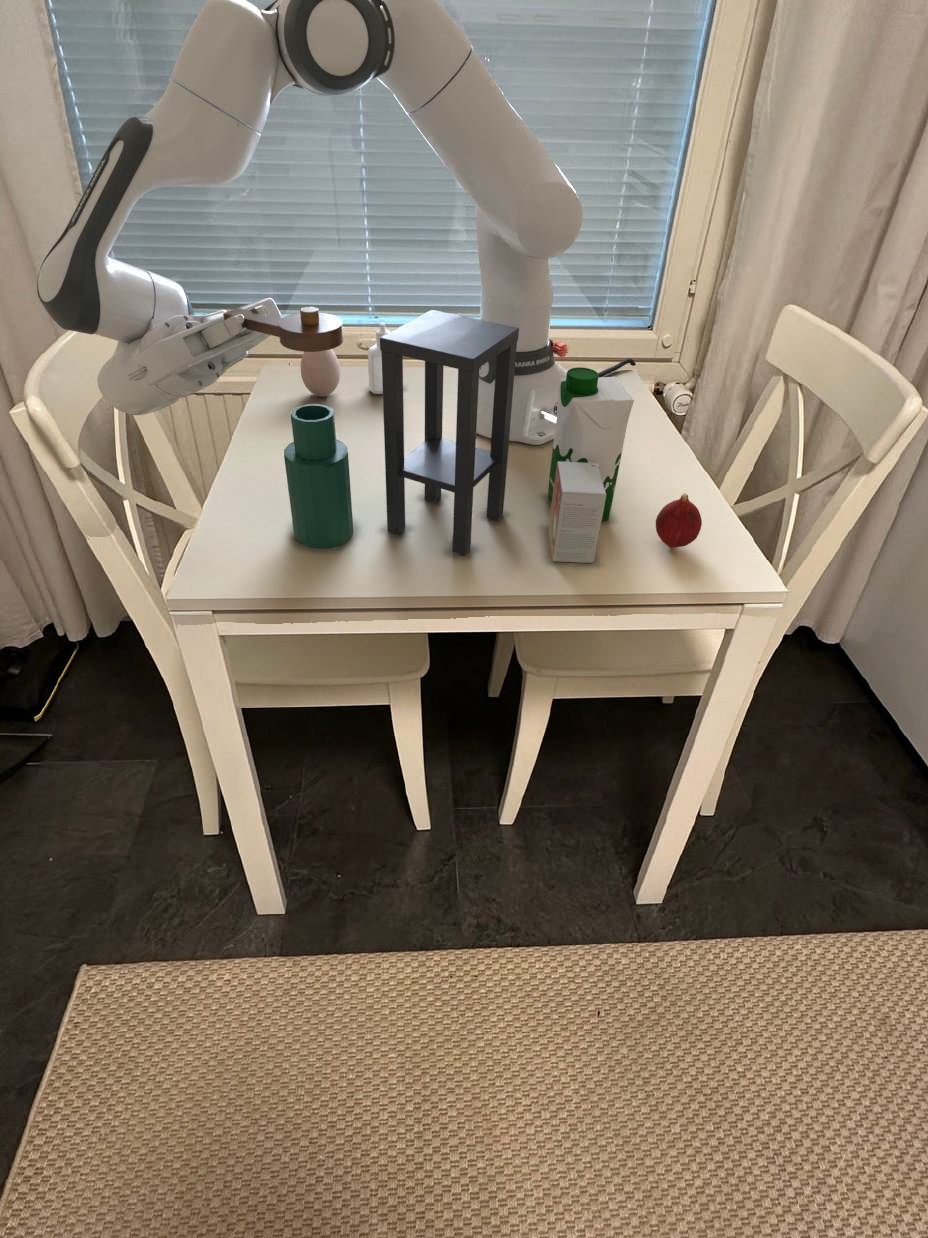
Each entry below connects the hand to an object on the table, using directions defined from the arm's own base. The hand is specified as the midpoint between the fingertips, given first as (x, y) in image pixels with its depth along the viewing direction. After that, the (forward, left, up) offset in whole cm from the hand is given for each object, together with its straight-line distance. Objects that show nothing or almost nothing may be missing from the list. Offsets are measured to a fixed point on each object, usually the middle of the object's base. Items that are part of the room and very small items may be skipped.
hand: (252, 316), depth 87 cm
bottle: (-4, +6, -27) cm, 28 cm away
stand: (-19, +12, -27) cm, 35 cm away
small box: (-31, +25, -27) cm, 48 cm away
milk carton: (-38, +18, -27) cm, 50 cm away
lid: (-2, +4, -1) cm, 4 cm away
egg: (-22, -35, -27) cm, 49 cm away
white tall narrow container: (-33, -32, -27) cm, 53 cm away
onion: (-43, +32, -27) cm, 60 cm away
